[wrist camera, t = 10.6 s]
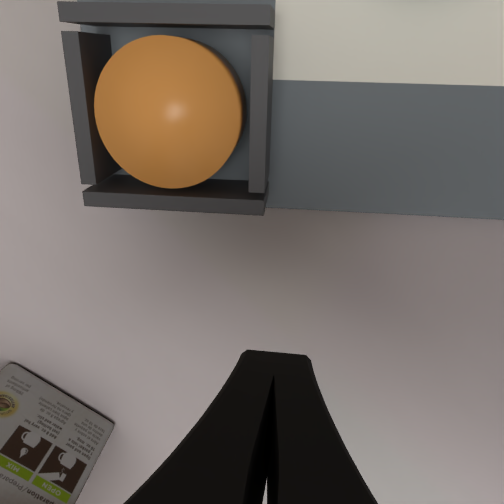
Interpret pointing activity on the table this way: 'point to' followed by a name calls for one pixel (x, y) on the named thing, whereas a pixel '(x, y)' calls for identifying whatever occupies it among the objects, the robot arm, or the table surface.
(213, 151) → the button
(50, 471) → the coffee box
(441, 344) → the table surface
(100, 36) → the slate board
